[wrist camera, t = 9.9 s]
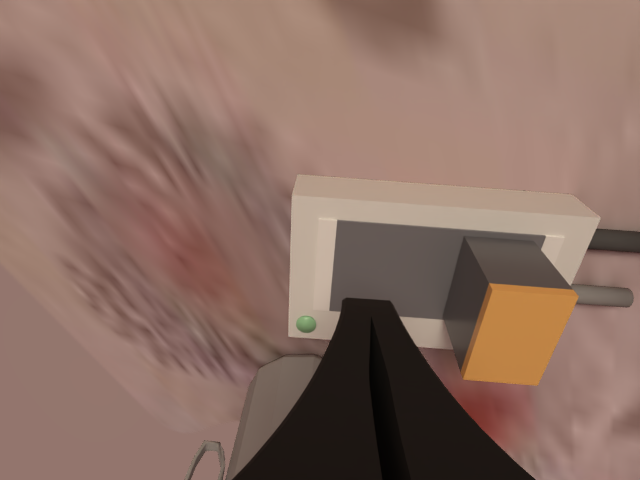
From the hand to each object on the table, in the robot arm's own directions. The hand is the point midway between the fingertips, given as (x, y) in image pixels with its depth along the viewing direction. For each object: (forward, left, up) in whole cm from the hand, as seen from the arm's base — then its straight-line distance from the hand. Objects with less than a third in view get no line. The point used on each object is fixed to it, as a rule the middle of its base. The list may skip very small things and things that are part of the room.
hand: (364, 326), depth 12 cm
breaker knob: (-6, +3, -7) cm, 10 cm away
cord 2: (-12, +5, -10) cm, 16 cm away
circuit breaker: (-4, +3, -10) cm, 11 cm away
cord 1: (-12, +1, -9) cm, 15 cm away
